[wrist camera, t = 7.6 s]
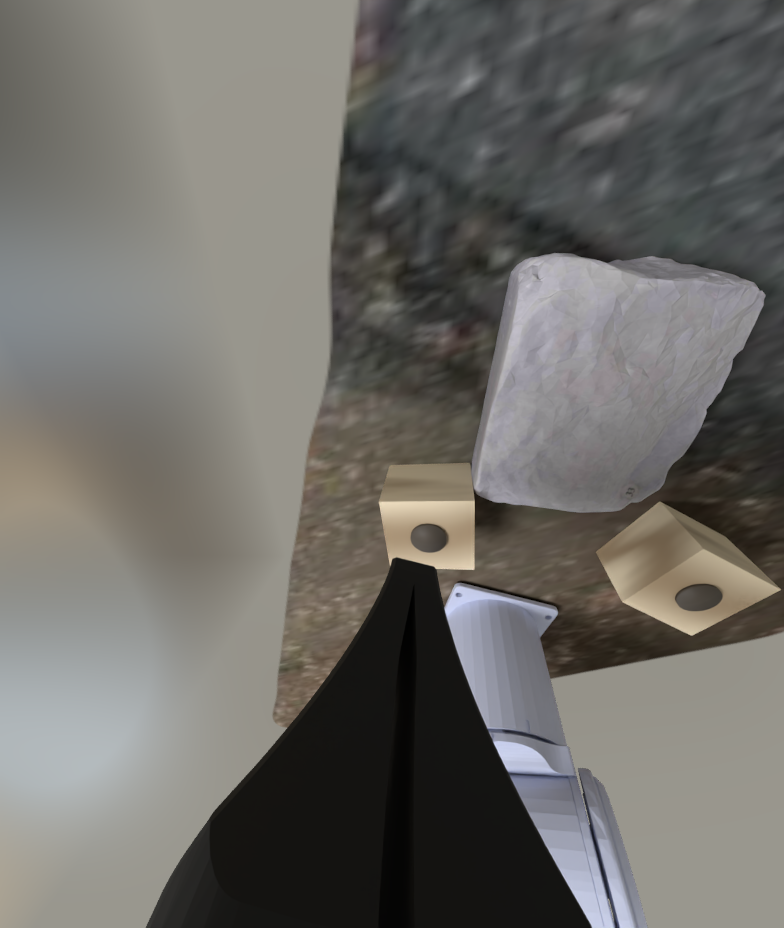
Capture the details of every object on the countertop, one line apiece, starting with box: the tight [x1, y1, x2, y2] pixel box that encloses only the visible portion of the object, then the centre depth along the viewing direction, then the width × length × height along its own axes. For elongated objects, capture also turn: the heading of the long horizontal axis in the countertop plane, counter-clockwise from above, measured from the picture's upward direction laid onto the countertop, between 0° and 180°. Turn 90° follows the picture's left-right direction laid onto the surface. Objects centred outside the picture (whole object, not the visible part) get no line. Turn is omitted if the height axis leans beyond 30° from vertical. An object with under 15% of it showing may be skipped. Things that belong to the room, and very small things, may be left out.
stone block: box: [471, 253, 766, 513], centre depth 16 cm, size 12×5×10 cm
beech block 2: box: [596, 502, 781, 636], centre depth 19 cm, size 5×5×4 cm
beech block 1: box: [379, 463, 475, 570], centre depth 20 cm, size 5×5×4 cm
